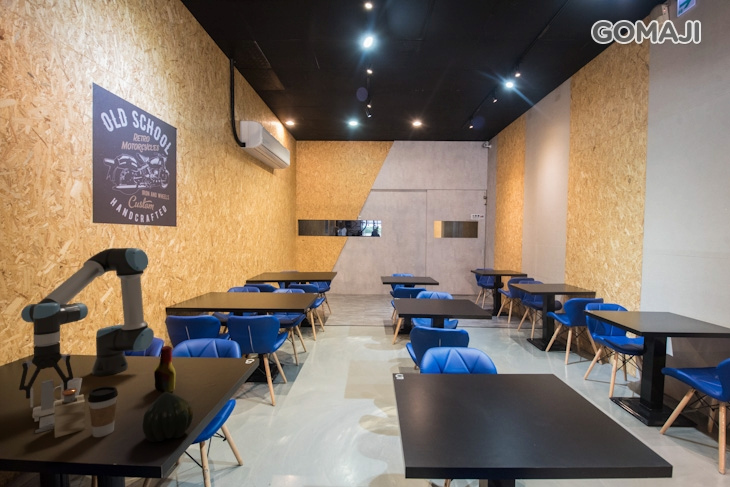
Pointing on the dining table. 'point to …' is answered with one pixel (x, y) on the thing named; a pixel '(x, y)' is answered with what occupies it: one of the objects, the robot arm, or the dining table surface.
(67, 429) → the beige box
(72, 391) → the button
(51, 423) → the rail
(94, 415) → the coffee cup
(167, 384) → the bottle
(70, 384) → the cup
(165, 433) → the squash
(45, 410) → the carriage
